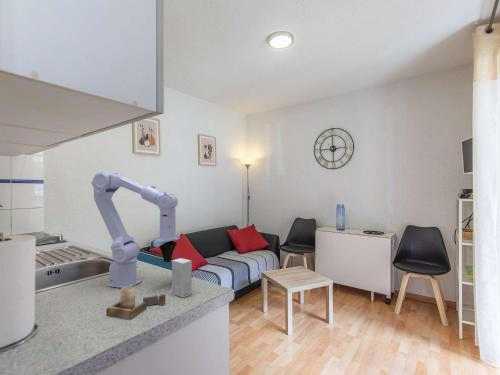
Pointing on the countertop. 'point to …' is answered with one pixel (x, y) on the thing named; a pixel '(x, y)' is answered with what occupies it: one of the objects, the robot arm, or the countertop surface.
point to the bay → (124, 311)
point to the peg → (127, 297)
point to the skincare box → (181, 277)
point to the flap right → (151, 300)
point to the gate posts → (162, 299)
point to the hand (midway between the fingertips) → (167, 261)
